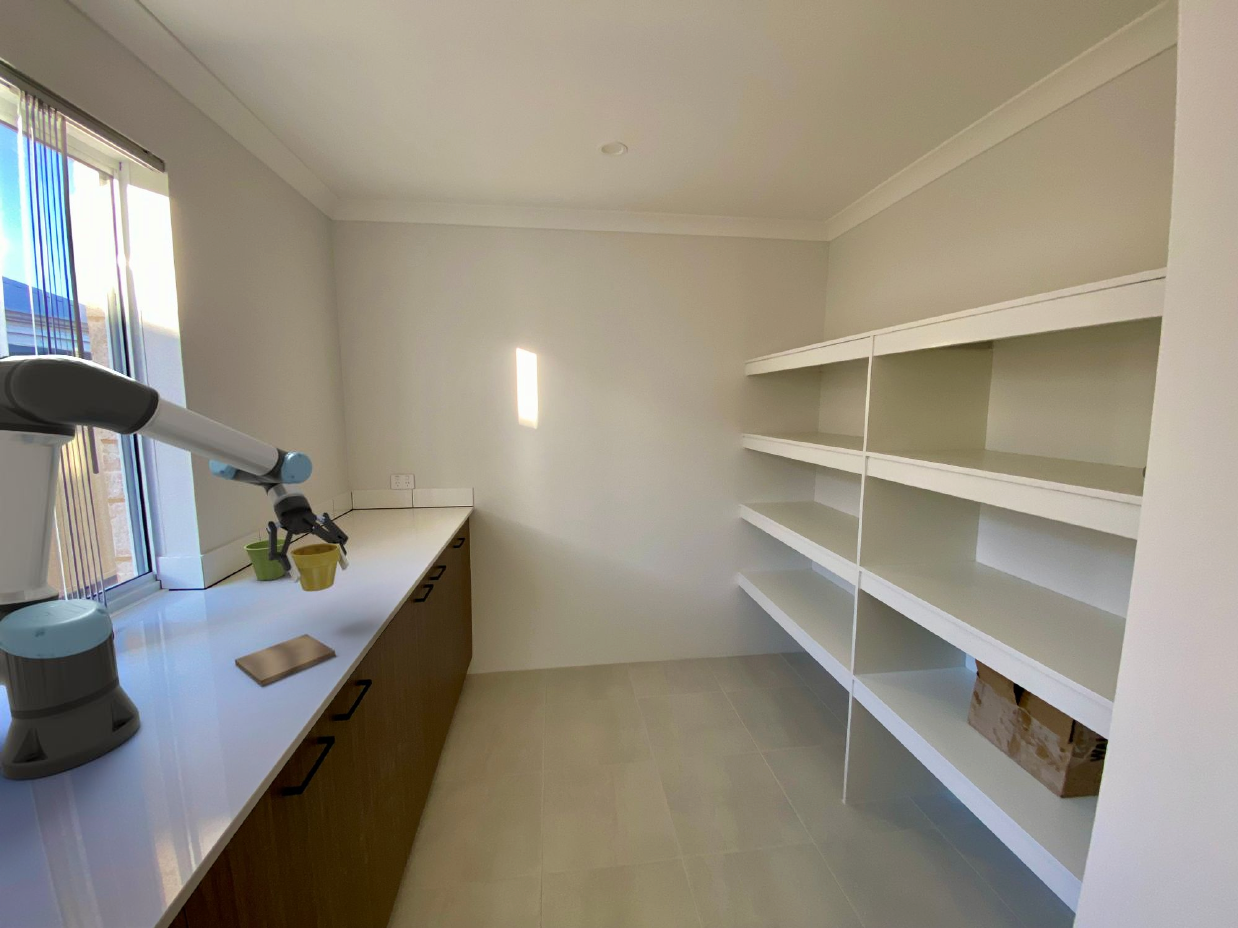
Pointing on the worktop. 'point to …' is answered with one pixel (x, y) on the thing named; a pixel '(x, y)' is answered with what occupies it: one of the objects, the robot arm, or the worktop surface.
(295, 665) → the walnut board
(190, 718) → the worktop surface
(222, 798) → the worktop surface
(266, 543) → the plant pot
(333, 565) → the plant pot
